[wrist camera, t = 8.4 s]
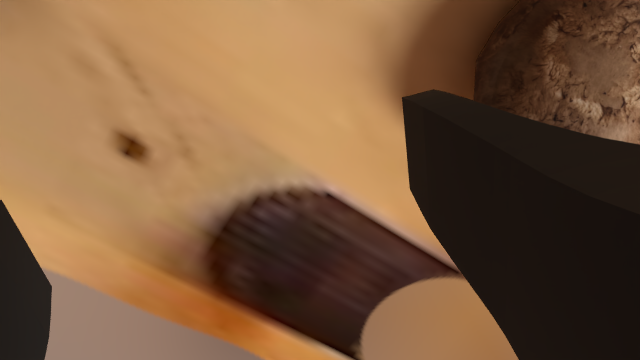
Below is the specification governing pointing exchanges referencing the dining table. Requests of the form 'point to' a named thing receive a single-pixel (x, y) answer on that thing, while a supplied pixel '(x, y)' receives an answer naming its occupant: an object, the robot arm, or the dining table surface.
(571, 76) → the brown rough rounded lump
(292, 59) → the dining table surface
